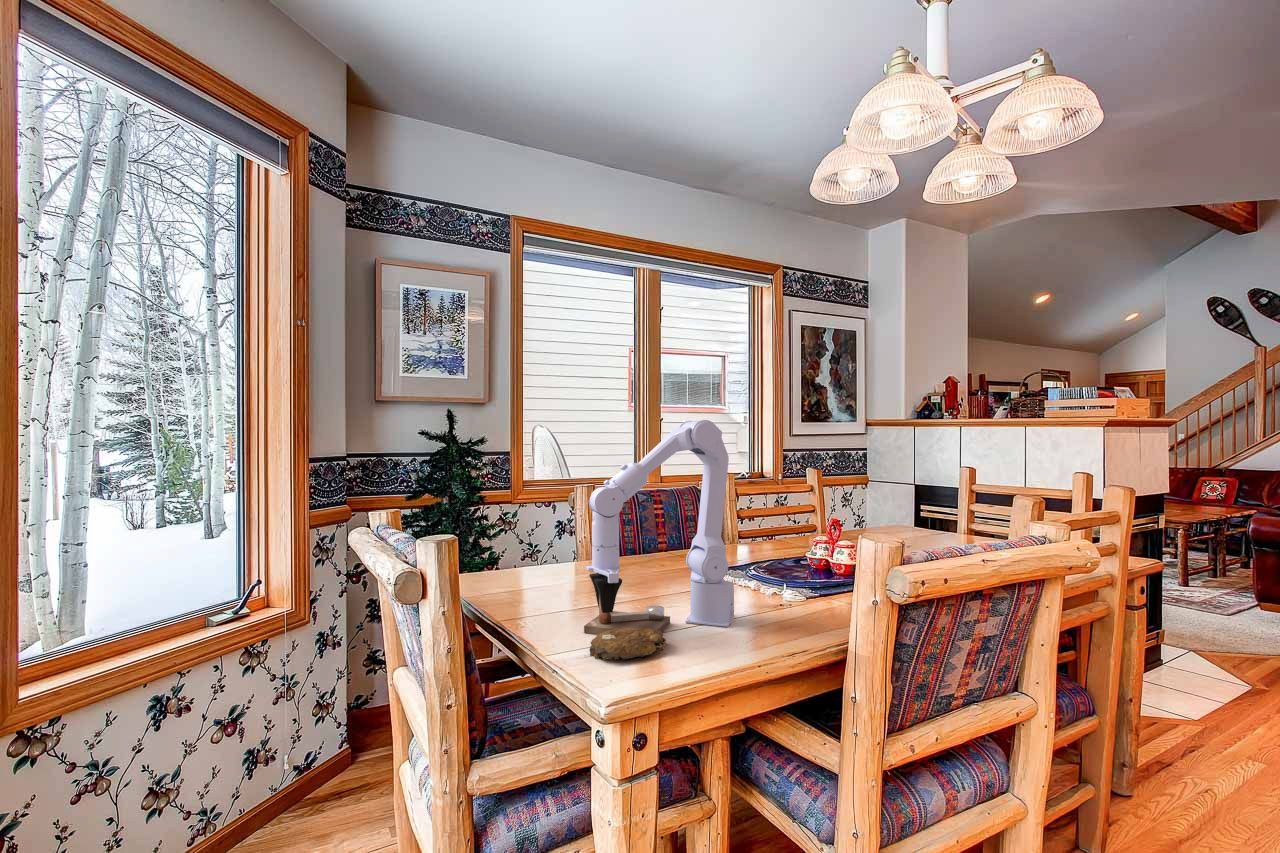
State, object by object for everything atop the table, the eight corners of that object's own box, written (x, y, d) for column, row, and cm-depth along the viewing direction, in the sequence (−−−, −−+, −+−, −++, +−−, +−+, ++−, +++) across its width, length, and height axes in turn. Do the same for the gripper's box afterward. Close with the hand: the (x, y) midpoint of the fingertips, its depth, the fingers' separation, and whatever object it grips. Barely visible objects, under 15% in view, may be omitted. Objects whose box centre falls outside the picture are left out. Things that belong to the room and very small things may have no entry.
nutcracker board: (670, 623, 134) (670, 616, 134) (653, 640, 123) (653, 632, 123) (605, 617, 139) (605, 609, 139) (584, 633, 127) (584, 625, 127)
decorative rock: (646, 639, 126) (580, 655, 118) (645, 618, 126) (579, 633, 118) (679, 652, 116) (610, 671, 108) (678, 630, 116) (608, 647, 108)
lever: (661, 614, 135) (661, 584, 135) (666, 619, 131) (666, 588, 131) (597, 619, 131) (597, 588, 131) (600, 624, 127) (600, 592, 128)
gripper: (580, 540, 135) (580, 602, 135) (593, 552, 121) (593, 621, 121) (611, 538, 137) (611, 600, 137) (628, 550, 123) (628, 618, 123)
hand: (605, 610), depth 129 cm, fingers open, 3 cm apart
